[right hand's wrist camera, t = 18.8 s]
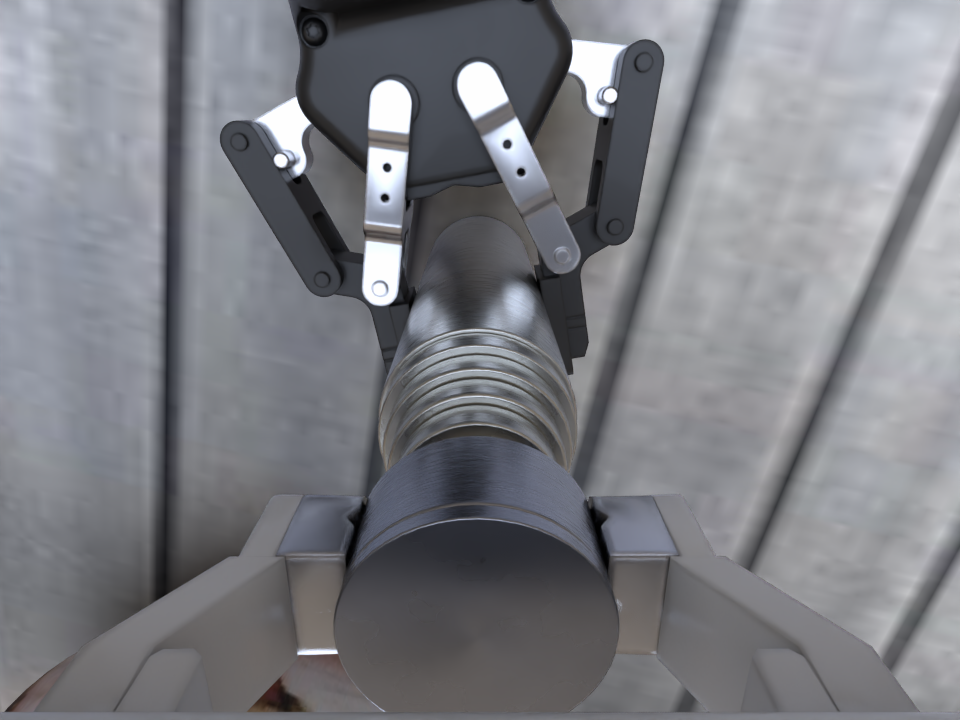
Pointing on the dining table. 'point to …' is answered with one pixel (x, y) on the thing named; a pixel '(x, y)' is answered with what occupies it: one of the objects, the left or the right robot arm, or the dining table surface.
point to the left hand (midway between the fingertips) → (492, 377)
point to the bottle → (478, 352)
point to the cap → (476, 585)
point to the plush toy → (297, 690)
